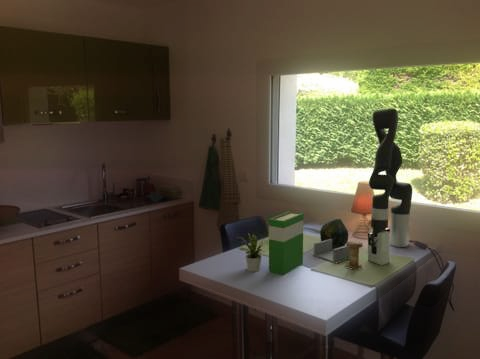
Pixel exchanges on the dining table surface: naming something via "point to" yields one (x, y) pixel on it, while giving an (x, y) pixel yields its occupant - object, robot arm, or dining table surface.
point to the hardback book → (285, 243)
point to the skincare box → (380, 248)
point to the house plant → (253, 254)
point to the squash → (335, 232)
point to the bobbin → (354, 254)
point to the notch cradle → (330, 251)
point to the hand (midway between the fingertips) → (378, 252)
